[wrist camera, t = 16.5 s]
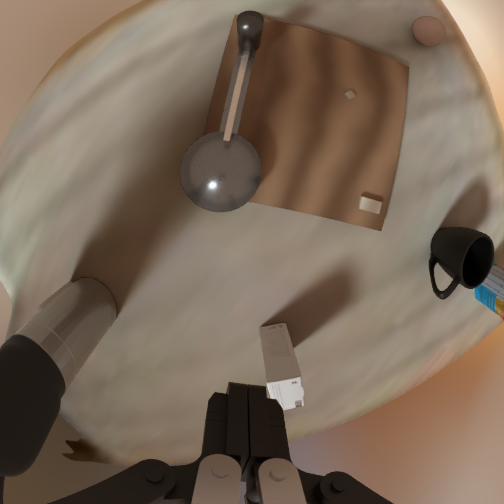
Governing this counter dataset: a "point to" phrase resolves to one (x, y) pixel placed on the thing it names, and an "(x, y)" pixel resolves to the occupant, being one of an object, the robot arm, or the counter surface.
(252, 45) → the crank handle
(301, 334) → the counter surface
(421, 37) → the egg
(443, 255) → the mug
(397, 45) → the counter surface
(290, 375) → the skincare box
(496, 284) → the beverage bottle
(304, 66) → the board
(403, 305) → the counter surface
